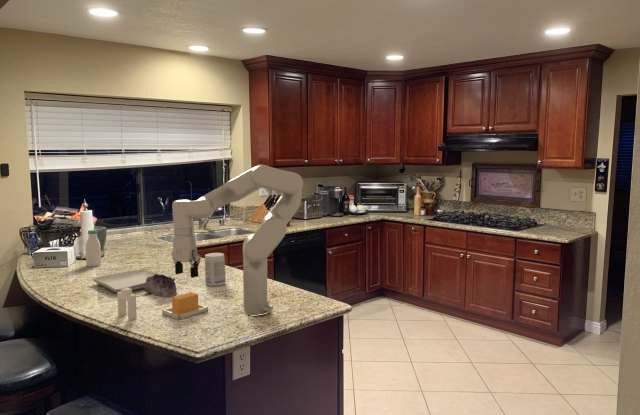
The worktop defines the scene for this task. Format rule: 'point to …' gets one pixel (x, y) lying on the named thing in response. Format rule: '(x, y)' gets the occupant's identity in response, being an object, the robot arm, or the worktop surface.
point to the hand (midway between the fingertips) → (186, 275)
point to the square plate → (125, 280)
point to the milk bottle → (93, 249)
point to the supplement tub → (215, 269)
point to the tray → (169, 313)
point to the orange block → (184, 303)
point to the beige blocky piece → (131, 299)
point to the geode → (161, 286)
